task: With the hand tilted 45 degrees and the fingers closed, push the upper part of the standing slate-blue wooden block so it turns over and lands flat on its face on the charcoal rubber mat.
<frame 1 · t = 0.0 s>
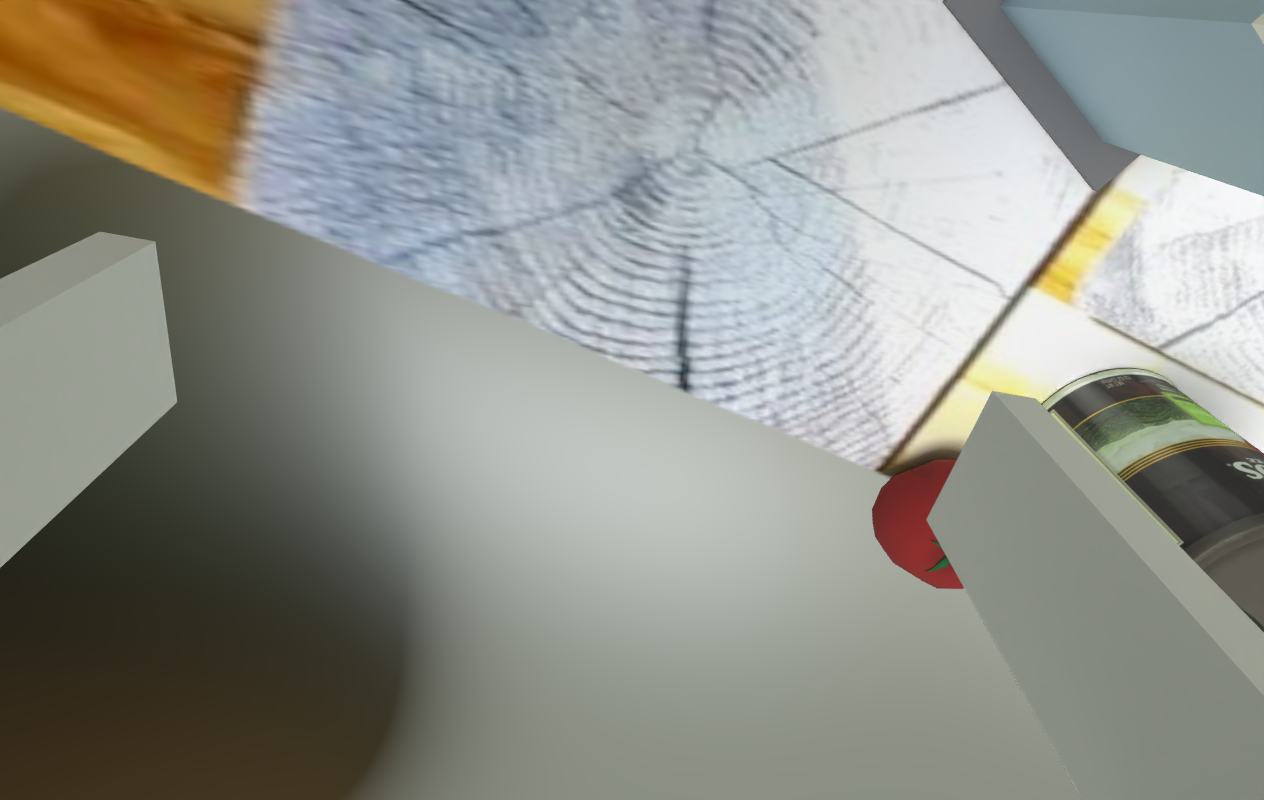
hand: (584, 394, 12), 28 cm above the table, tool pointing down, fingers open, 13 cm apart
block: (1100, 33, 34), resting on mat
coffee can: (1095, 436, 46), on the table
tomato: (925, 488, 48), on the table
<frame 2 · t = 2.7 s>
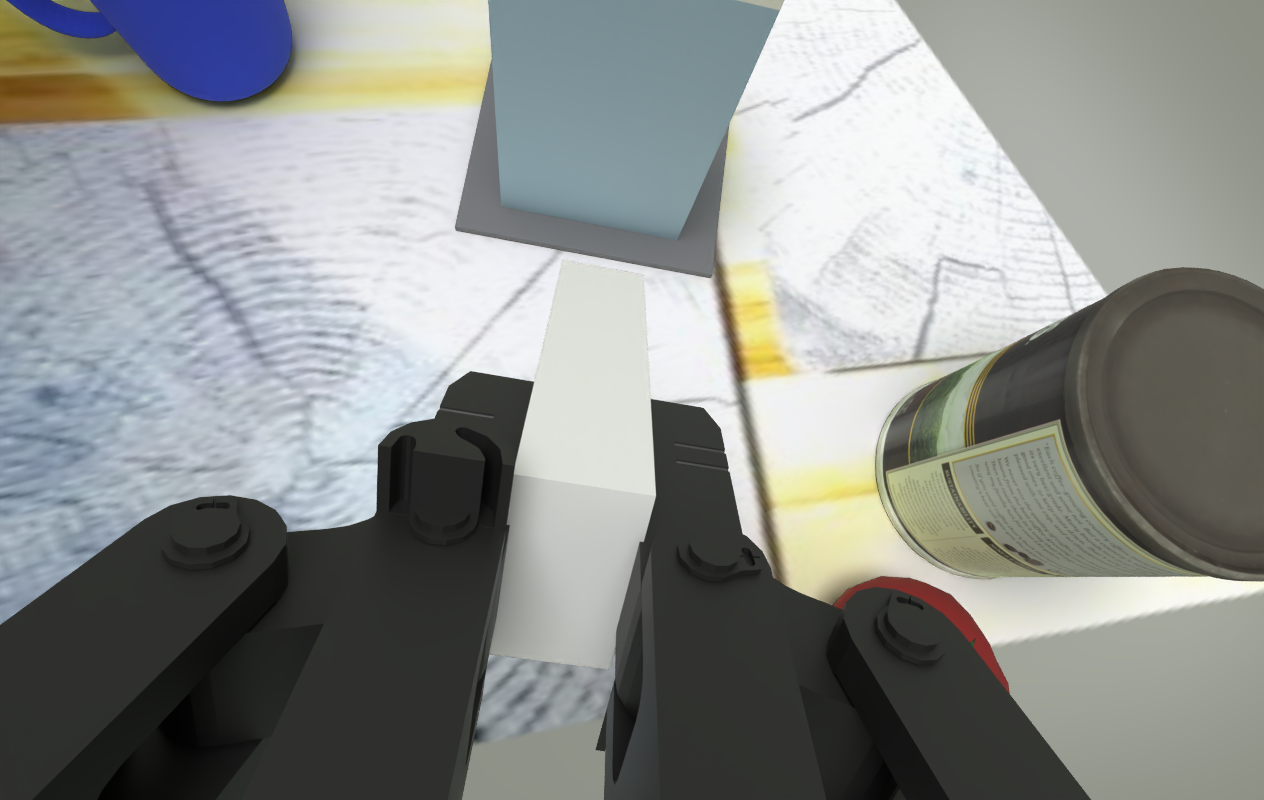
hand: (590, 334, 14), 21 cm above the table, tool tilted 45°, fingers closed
block: (597, 180, 37), resting on mat
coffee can: (966, 477, 37), on the table
mug: (186, 55, 36), on the table
mat: (617, 56, 40), on the table
tomato: (868, 665, 34), on the table
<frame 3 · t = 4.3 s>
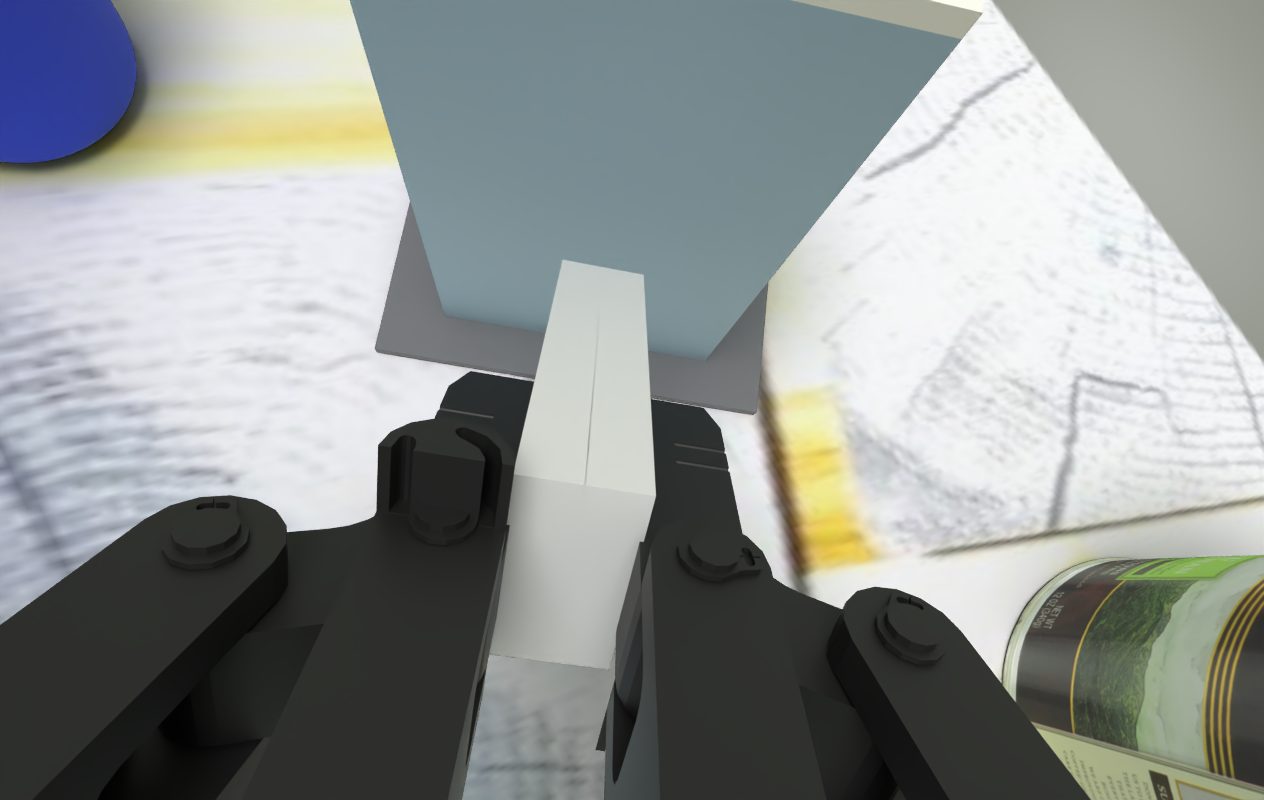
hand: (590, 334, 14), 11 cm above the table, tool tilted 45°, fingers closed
block: (588, 272, 25), resting on mat
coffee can: (1131, 710, 25), on the table
mat: (617, 89, 28), on the table
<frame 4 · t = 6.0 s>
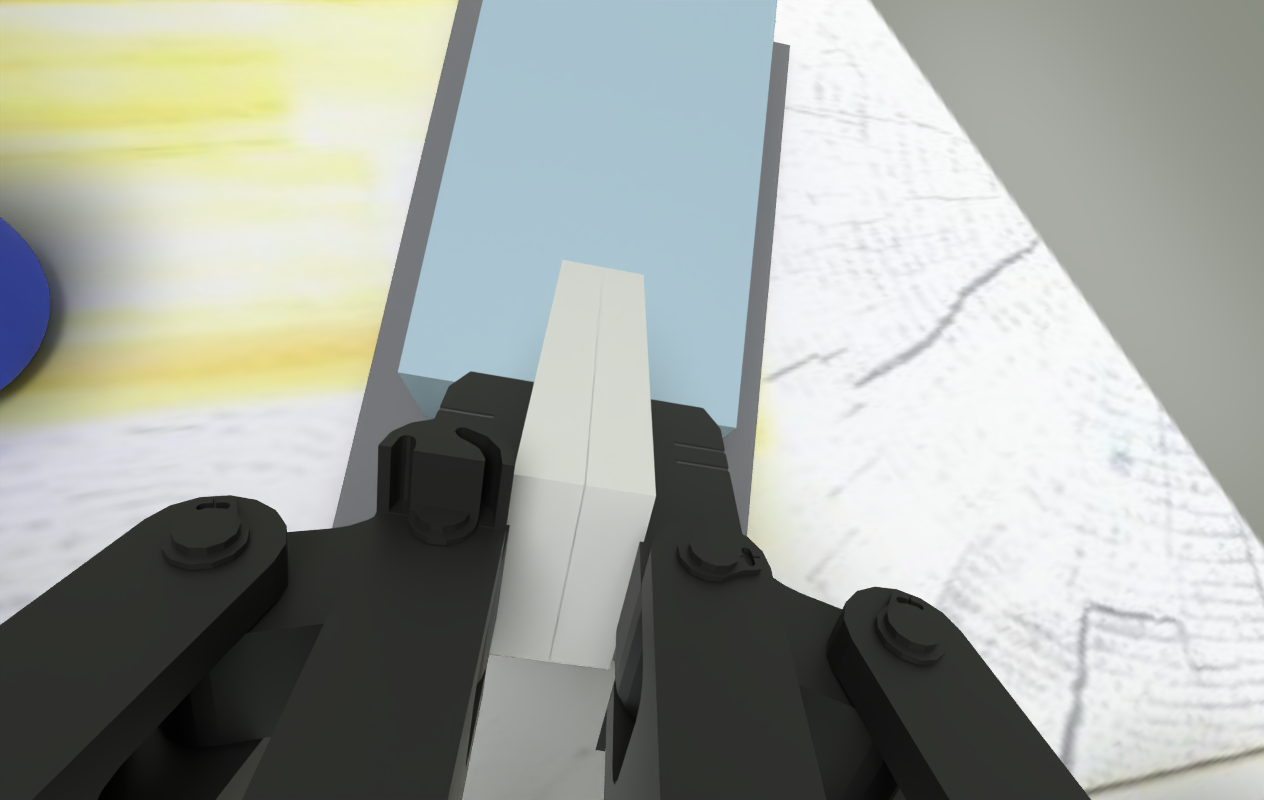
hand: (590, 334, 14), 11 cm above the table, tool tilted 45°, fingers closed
block: (566, 421, 21), point 3 cm above the table, tilted 90°, touching mat
mat: (585, 294, 26), on the table
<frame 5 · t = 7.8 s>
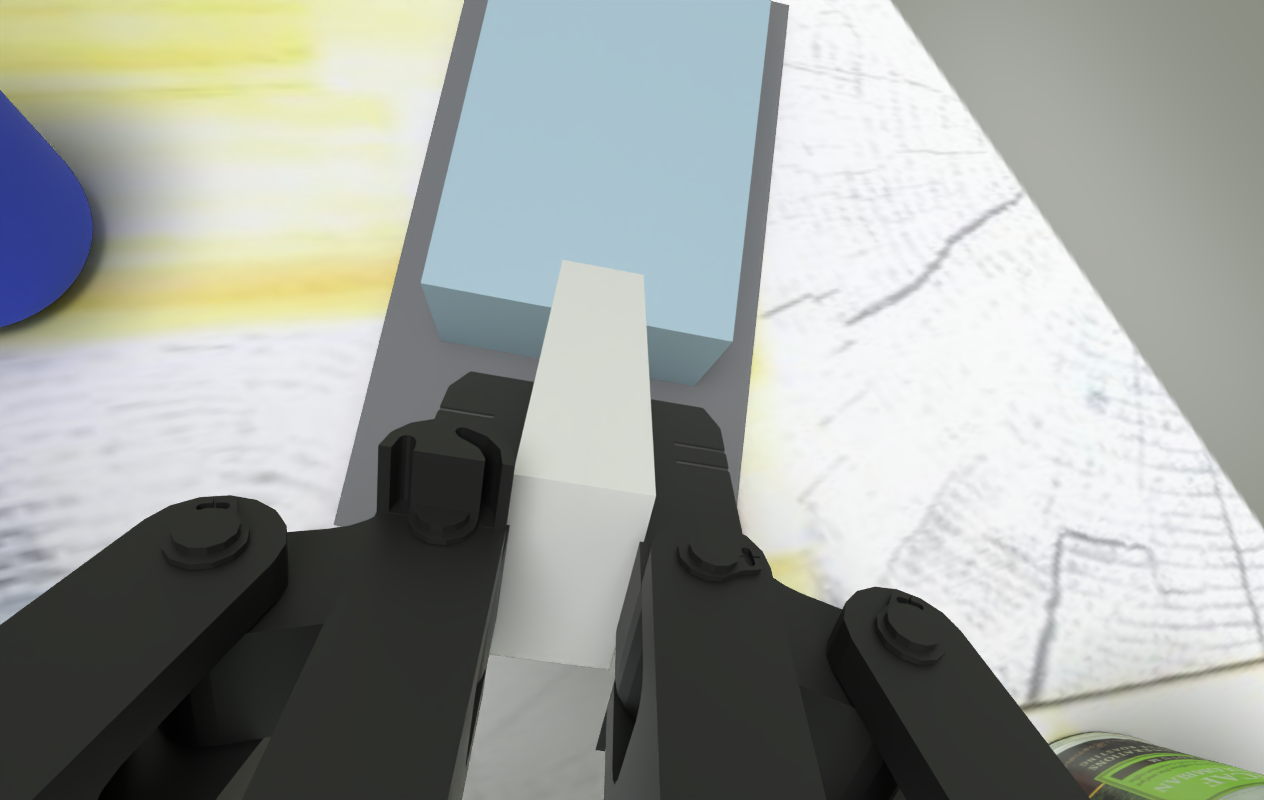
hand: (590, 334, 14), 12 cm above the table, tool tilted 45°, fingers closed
block: (574, 341, 23), point 3 cm above the table, tilted 90°, touching mat
mat: (592, 233, 27), on the table
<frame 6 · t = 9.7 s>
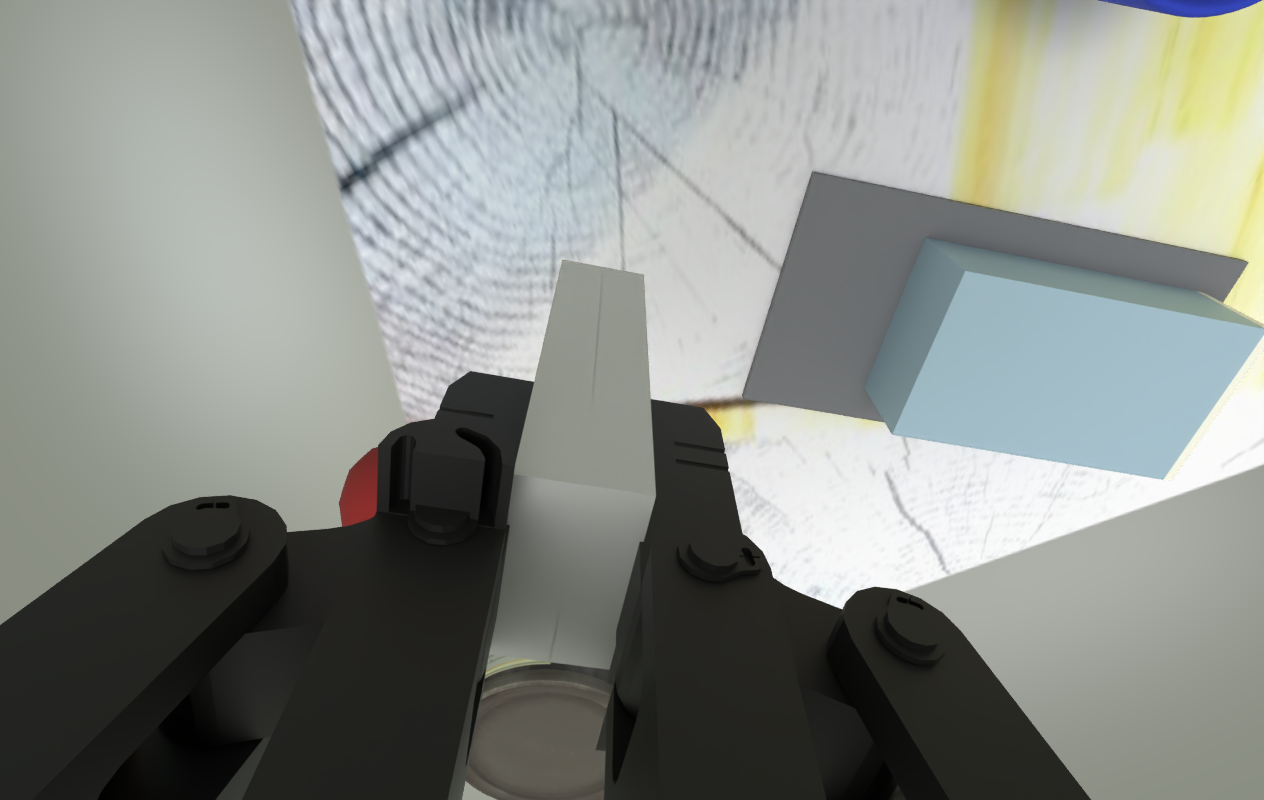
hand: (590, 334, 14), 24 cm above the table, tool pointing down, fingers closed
block: (908, 336, 37), point 3 cm above the table, tilted 90°, touching mat
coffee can: (567, 556, 49), on the table
mat: (980, 330, 40), on the table
tomato: (425, 477, 45), on the table
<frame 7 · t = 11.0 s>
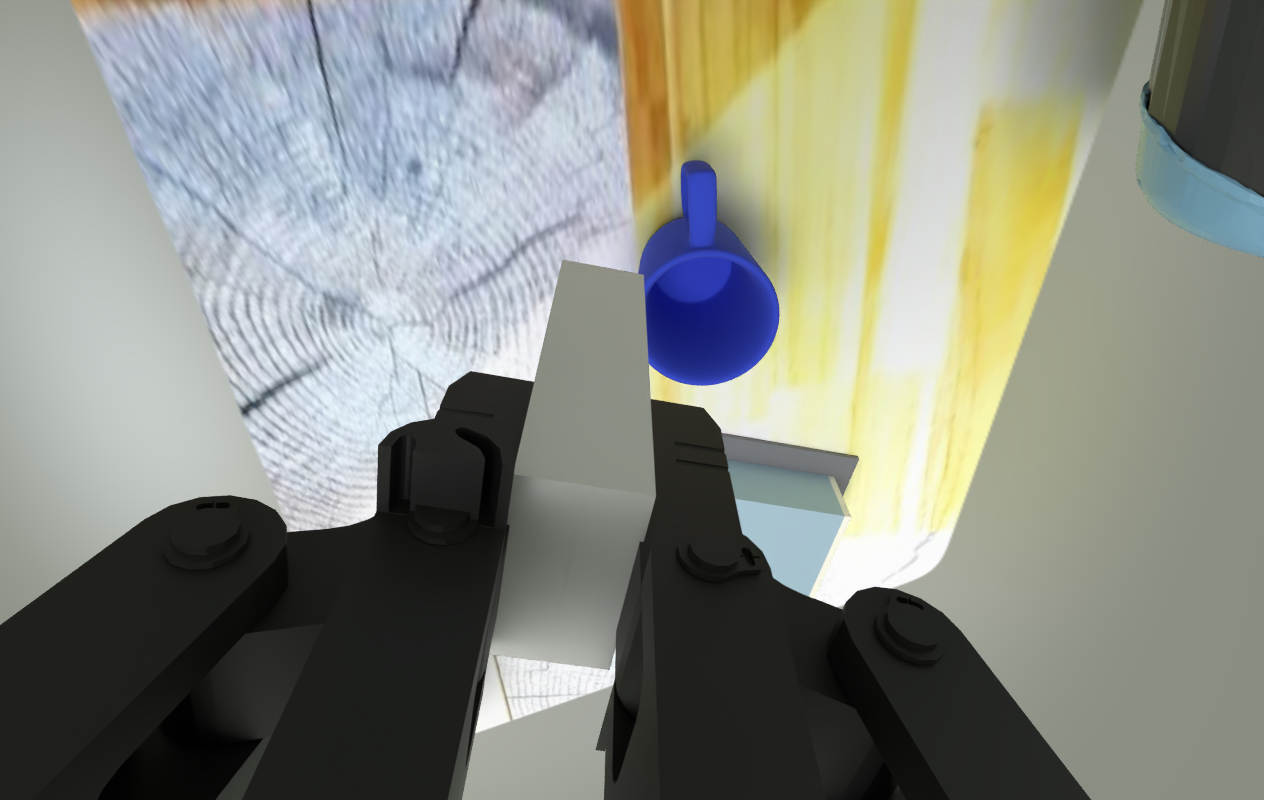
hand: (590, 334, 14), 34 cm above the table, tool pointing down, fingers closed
block: (625, 510, 56), point 3 cm above the table, tilted 90°, touching mat
mug: (690, 232, 48), on the table
mat: (689, 497, 59), on the table
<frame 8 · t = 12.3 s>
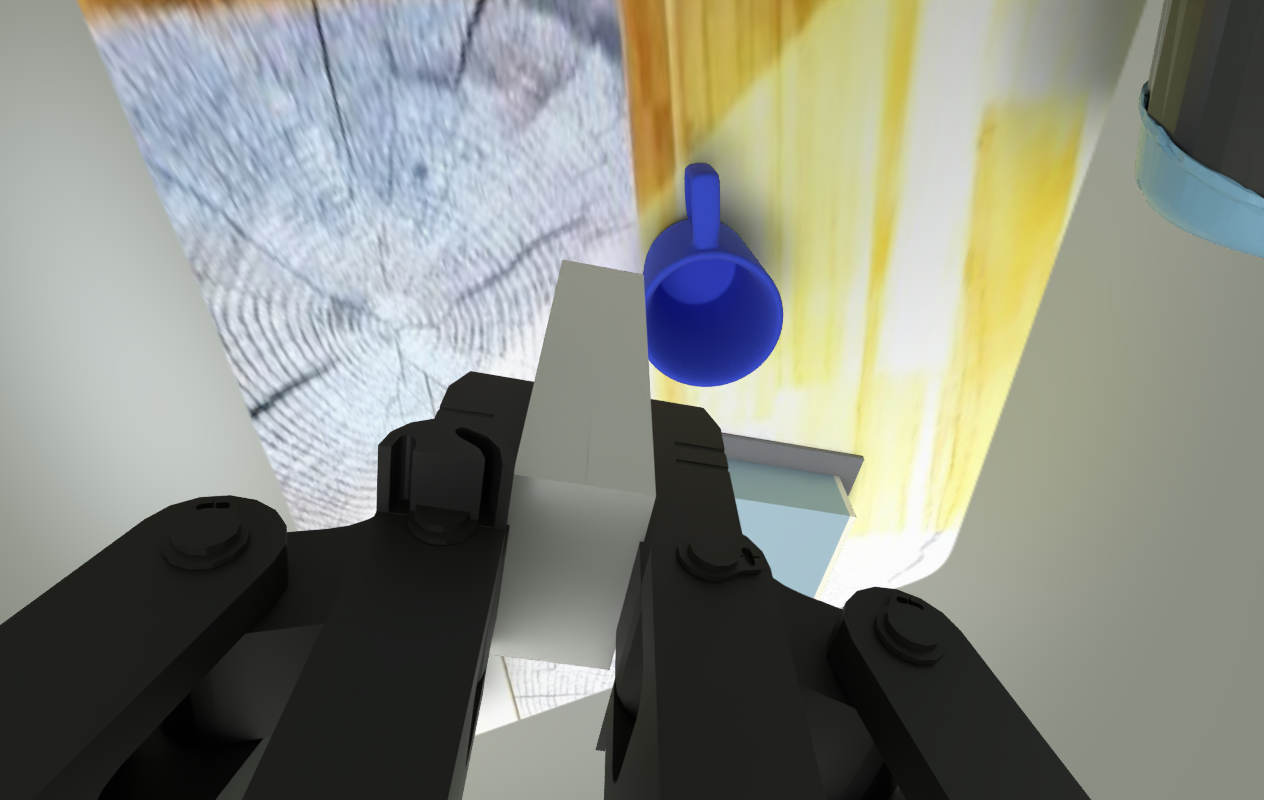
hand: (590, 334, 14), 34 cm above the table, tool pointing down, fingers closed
block: (630, 510, 56), point 3 cm above the table, tilted 90°, touching mat
mug: (694, 234, 48), on the table
mat: (695, 497, 59), on the table
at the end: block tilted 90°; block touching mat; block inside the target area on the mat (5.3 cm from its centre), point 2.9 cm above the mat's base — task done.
